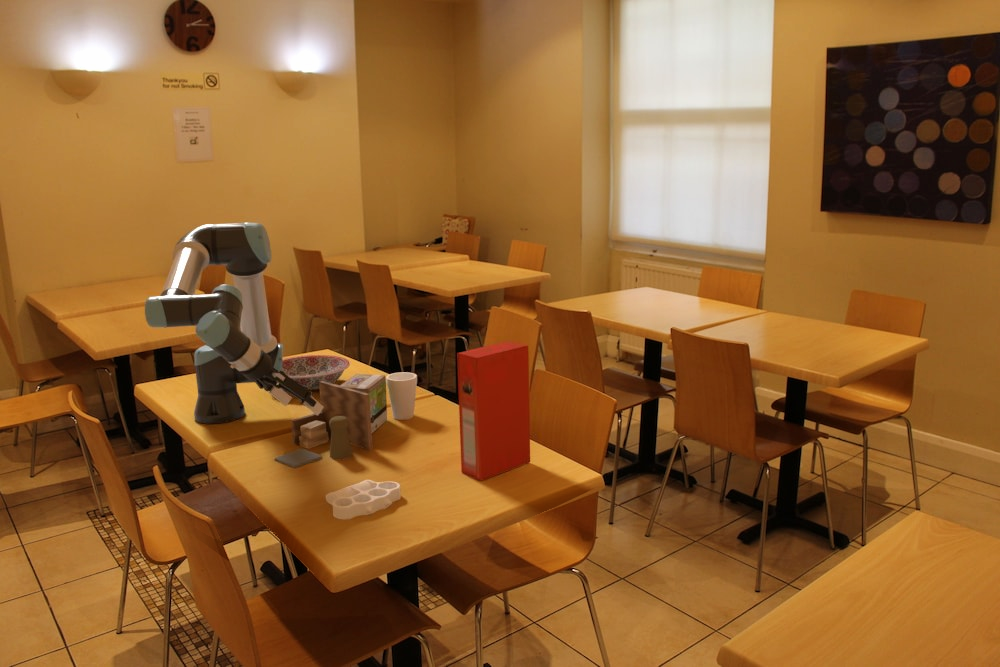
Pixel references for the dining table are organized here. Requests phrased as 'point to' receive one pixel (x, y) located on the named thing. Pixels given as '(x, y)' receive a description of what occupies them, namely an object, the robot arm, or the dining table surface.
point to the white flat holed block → (363, 498)
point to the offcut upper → (313, 429)
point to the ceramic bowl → (314, 369)
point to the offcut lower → (313, 440)
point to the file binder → (494, 409)
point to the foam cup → (402, 394)
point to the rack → (341, 413)
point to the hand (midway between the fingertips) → (304, 406)
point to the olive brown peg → (339, 438)
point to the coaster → (298, 458)
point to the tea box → (372, 395)
